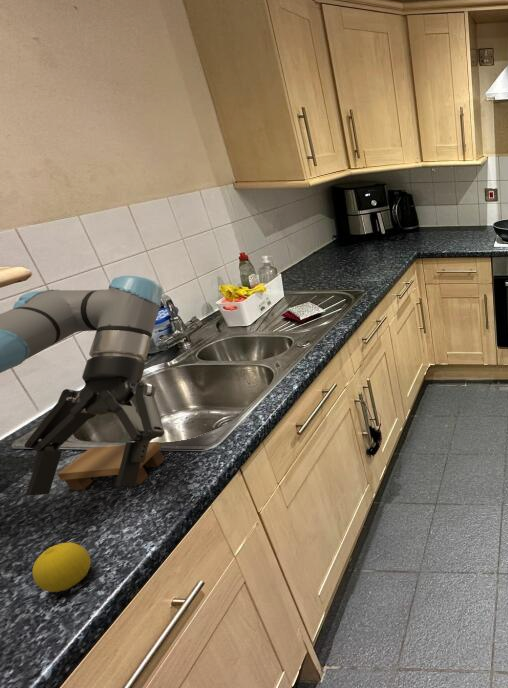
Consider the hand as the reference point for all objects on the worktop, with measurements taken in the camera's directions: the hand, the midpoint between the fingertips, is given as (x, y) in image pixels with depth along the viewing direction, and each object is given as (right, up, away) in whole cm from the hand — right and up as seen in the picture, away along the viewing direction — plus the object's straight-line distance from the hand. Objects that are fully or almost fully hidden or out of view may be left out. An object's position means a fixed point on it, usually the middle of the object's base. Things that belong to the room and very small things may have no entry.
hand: (81, 490), depth 64 cm
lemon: (+1, -14, -2) cm, 14 cm away
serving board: (-12, -6, +19) cm, 23 cm away
